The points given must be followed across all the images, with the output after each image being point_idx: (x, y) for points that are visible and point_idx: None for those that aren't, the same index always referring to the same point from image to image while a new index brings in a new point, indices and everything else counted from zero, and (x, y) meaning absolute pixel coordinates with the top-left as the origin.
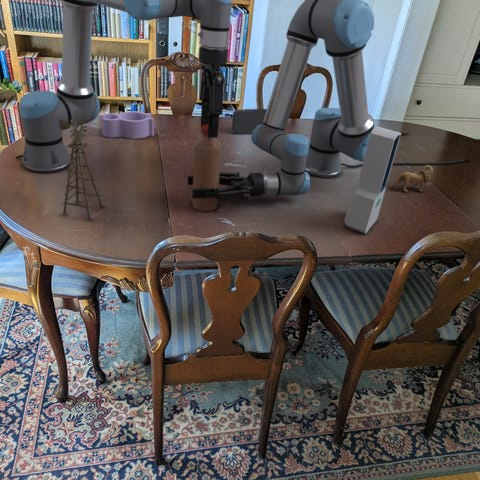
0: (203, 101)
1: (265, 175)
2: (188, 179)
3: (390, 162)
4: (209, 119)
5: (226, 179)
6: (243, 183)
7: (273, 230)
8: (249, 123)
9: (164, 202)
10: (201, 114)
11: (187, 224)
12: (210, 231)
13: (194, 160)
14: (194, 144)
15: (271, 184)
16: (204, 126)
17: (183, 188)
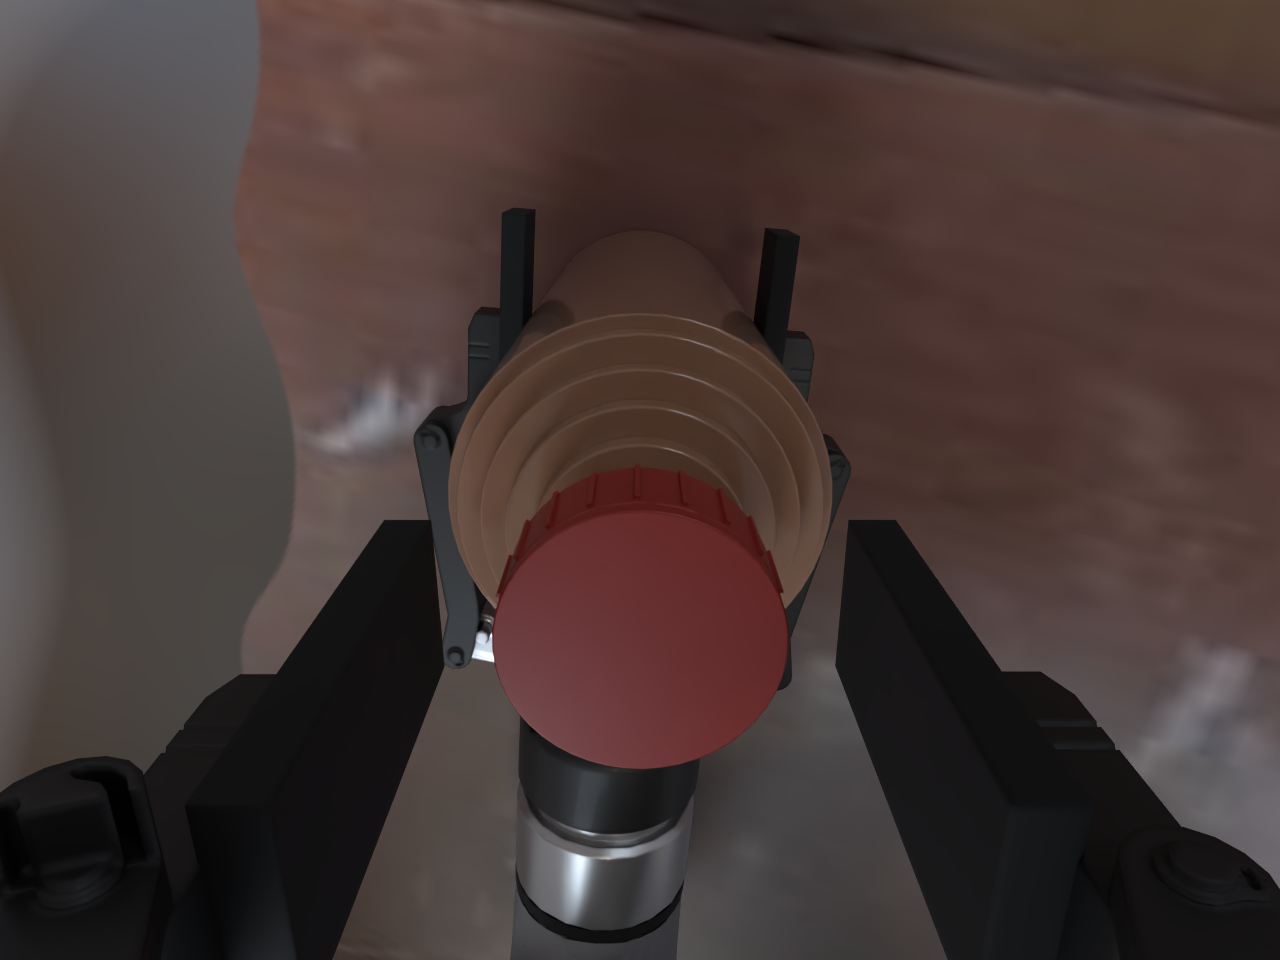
0: (1125, 951)
1: (579, 850)
2: (773, 235)
3: None
4: (250, 721)
5: None
6: None
7: (257, 653)
8: None
9: (733, 6)
10: (959, 652)
11: (366, 118)
12: (260, 264)
13: (629, 282)
14: (695, 322)
15: (522, 839)
16: (668, 569)
17: (933, 230)
